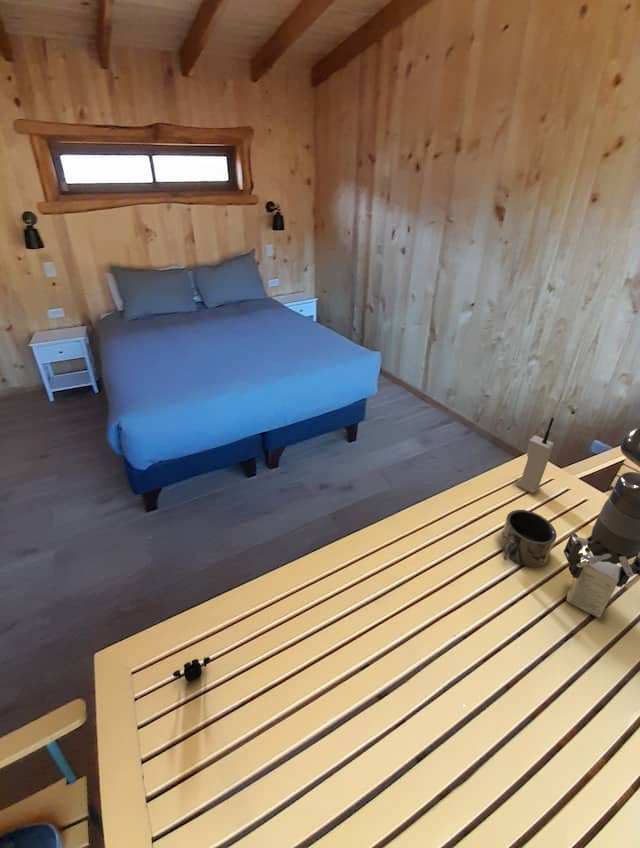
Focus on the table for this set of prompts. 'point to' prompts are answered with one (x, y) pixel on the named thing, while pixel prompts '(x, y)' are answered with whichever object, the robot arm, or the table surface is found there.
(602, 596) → the cosmetic box
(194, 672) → the wireless earbuds
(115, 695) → the table surface
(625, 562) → the robot arm
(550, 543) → the mug
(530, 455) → the vintage mobile phone
